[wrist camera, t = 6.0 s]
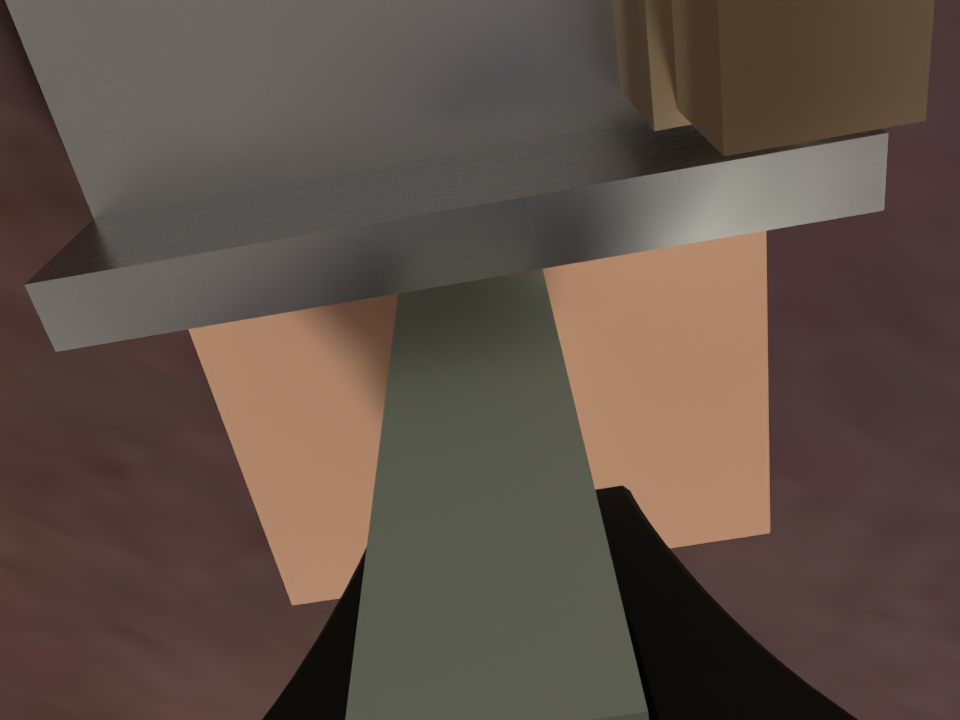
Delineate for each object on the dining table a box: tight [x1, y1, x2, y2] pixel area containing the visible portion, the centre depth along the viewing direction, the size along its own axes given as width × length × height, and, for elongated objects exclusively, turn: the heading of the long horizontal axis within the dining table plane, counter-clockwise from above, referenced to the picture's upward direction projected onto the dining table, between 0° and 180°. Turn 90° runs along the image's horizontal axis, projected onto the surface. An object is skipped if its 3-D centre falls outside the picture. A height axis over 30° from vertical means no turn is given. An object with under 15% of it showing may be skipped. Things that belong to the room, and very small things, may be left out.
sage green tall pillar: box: [345, 269, 649, 720], centre depth 12 cm, size 2×6×9 cm, turn 10°
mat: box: [189, 231, 770, 605], centre depth 16 cm, size 10×7×1 cm
